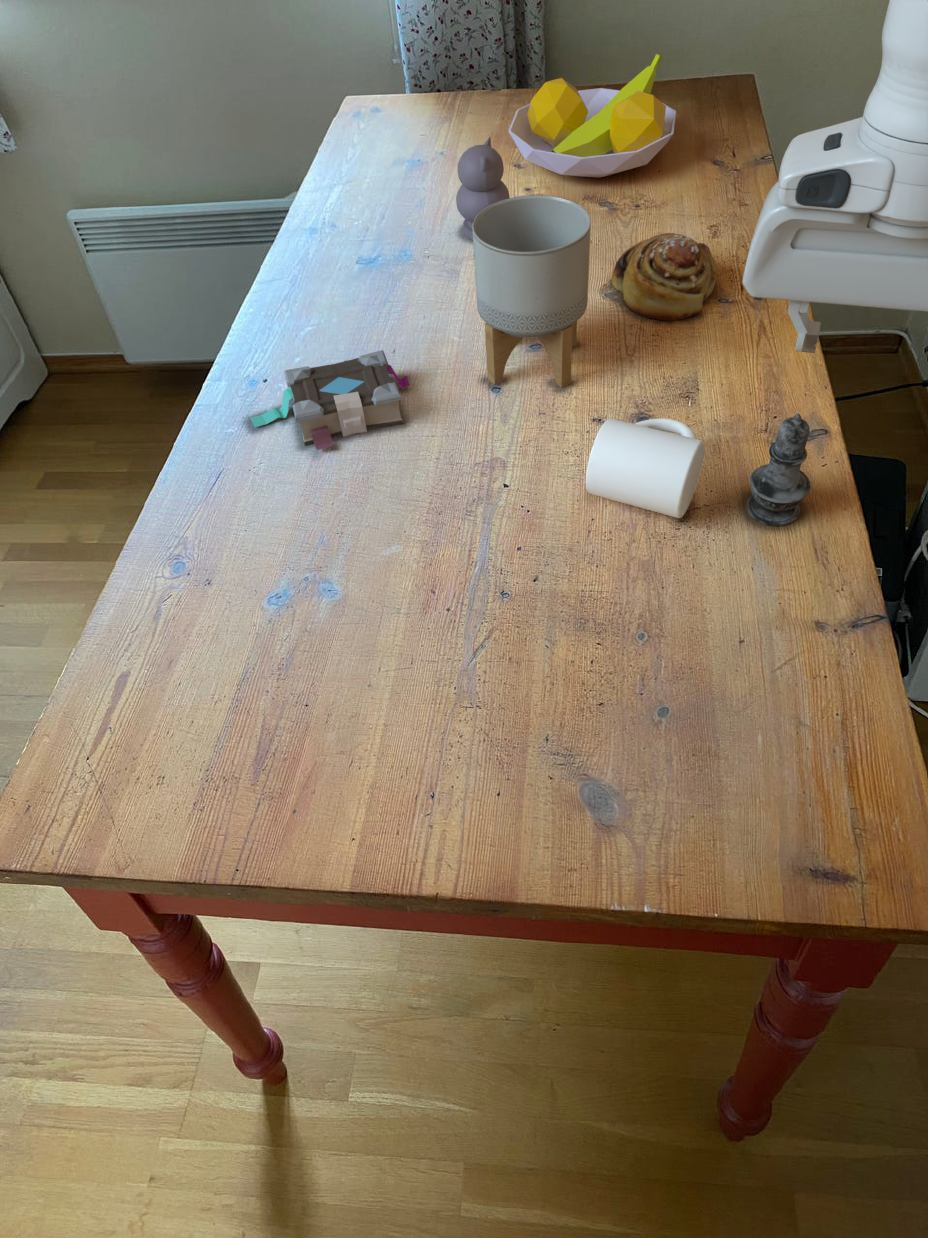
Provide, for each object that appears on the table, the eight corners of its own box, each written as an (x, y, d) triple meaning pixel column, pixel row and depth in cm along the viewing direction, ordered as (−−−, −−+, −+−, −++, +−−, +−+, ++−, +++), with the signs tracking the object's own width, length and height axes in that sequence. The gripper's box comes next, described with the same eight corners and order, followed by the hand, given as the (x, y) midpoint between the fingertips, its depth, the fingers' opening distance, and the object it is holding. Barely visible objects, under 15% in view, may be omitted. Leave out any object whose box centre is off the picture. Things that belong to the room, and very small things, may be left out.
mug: (675, 534, 90) (685, 474, 84) (583, 508, 94) (586, 448, 87) (710, 462, 97) (721, 402, 91) (623, 440, 100) (628, 380, 94)
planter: (540, 321, 117) (540, 183, 103) (606, 364, 109) (615, 223, 96) (460, 359, 112) (449, 221, 99) (524, 407, 105) (521, 265, 92)
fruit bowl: (561, 212, 135) (562, 133, 127) (484, 147, 152) (481, 74, 143) (716, 166, 141) (728, 88, 133) (627, 109, 158) (632, 36, 149)
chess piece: (805, 494, 93) (834, 399, 83) (799, 533, 89) (829, 438, 80) (747, 485, 94) (769, 390, 85) (739, 522, 91) (761, 428, 81)
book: (259, 468, 101) (248, 433, 97) (247, 406, 109) (237, 371, 105) (428, 429, 104) (424, 394, 100) (404, 371, 111) (400, 336, 108)
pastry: (653, 330, 114) (659, 271, 107) (594, 277, 123) (597, 220, 116) (740, 301, 116) (751, 242, 110) (677, 252, 125) (684, 195, 119)
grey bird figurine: (460, 217, 136) (454, 134, 127) (512, 215, 135) (509, 132, 126) (455, 245, 131) (449, 161, 122) (509, 244, 130) (506, 159, 121)
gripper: (1108, 149, 55) (1023, 345, 66) (767, 137, 61) (739, 319, 71) (1120, 196, 52) (1028, 395, 62) (756, 178, 57) (727, 363, 68)
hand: (871, 354), depth 67 cm, fingers open, 8 cm apart
